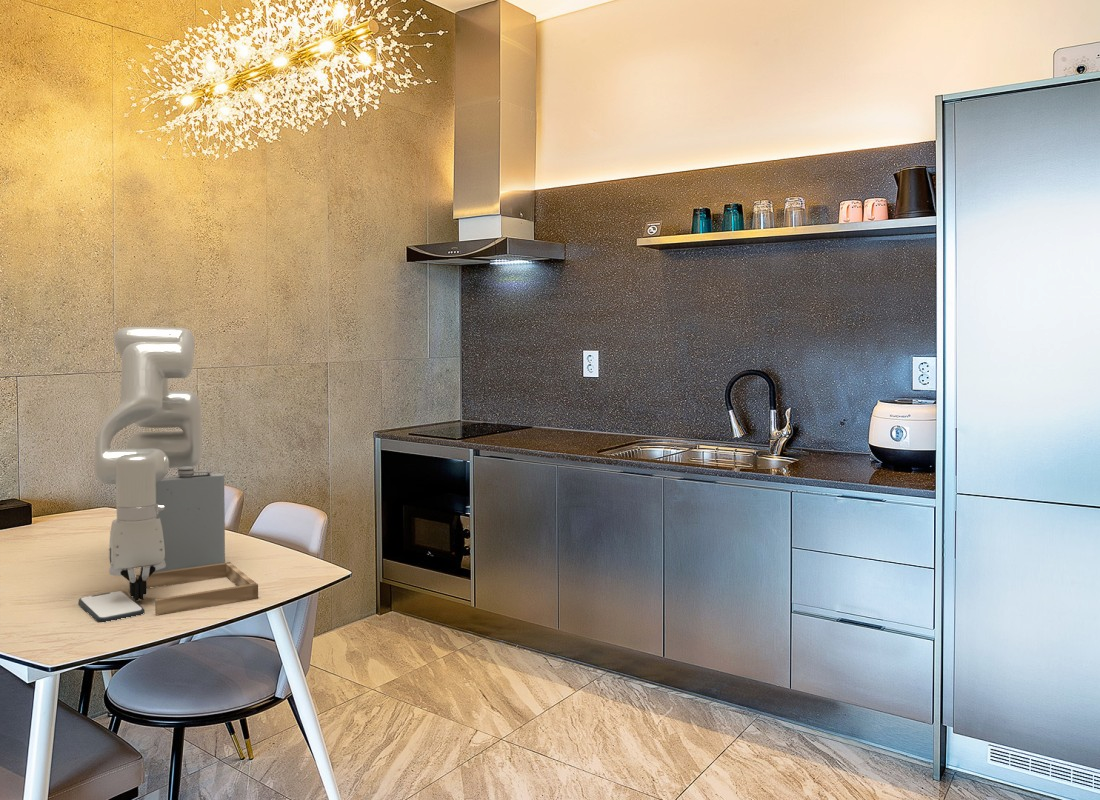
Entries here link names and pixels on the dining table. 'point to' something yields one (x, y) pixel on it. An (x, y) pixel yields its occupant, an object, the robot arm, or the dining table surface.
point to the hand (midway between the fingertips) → (138, 598)
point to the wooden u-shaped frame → (241, 592)
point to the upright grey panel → (192, 518)
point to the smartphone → (110, 606)
